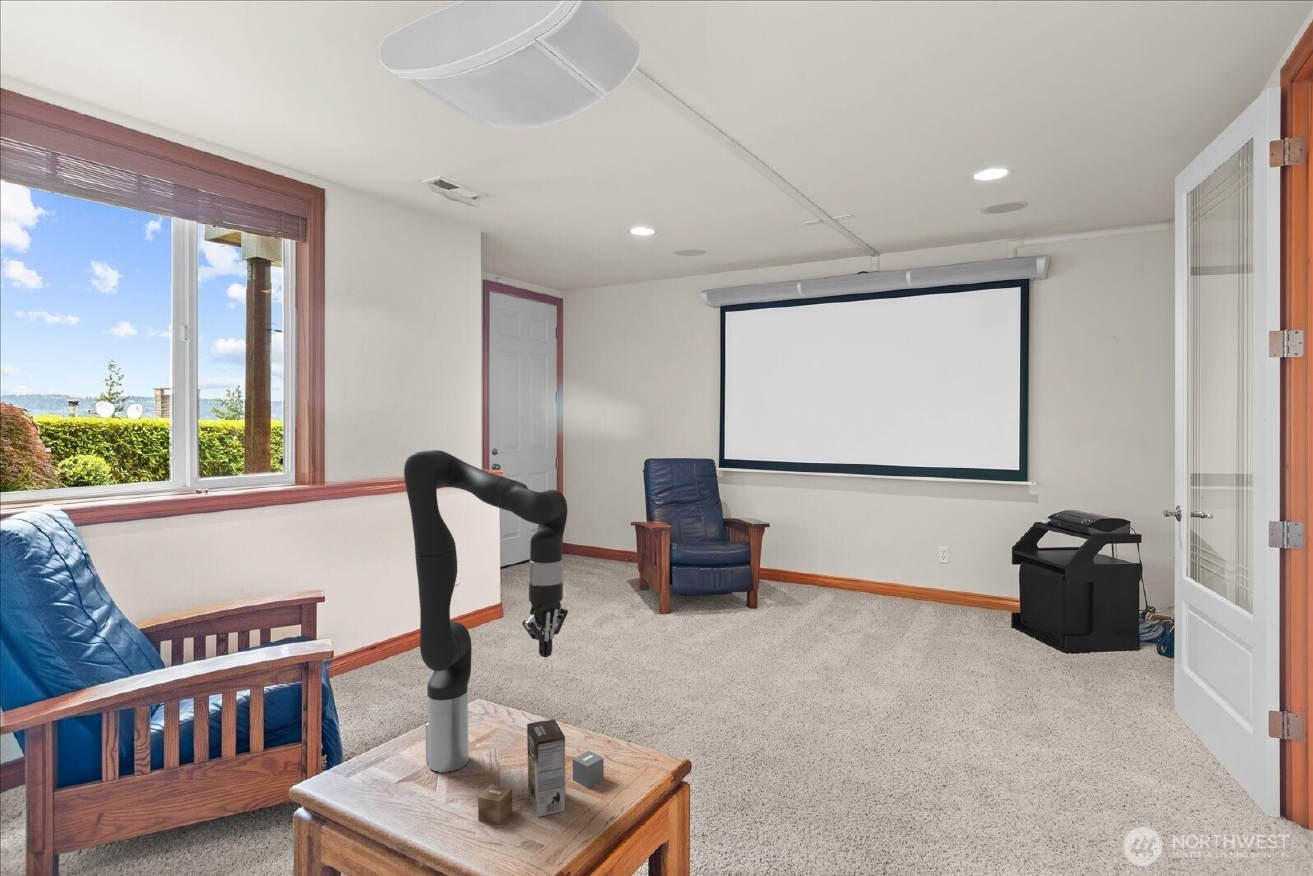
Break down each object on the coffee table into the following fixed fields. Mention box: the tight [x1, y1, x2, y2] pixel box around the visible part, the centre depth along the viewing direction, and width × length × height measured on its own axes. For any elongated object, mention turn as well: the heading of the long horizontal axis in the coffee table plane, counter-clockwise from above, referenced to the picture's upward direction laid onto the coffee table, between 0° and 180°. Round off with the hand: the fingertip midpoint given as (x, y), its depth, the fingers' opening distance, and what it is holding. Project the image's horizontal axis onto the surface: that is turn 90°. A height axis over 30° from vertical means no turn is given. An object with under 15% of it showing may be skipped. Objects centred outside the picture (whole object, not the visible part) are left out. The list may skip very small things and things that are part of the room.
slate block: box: [572, 750, 605, 789], centre depth 150 cm, size 5×5×5 cm
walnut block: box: [477, 784, 513, 826], centre depth 137 cm, size 5×5×5 cm
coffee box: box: [526, 718, 566, 818], centre depth 141 cm, size 9×6×16 cm
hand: (545, 655), depth 148 cm, fingers closed
